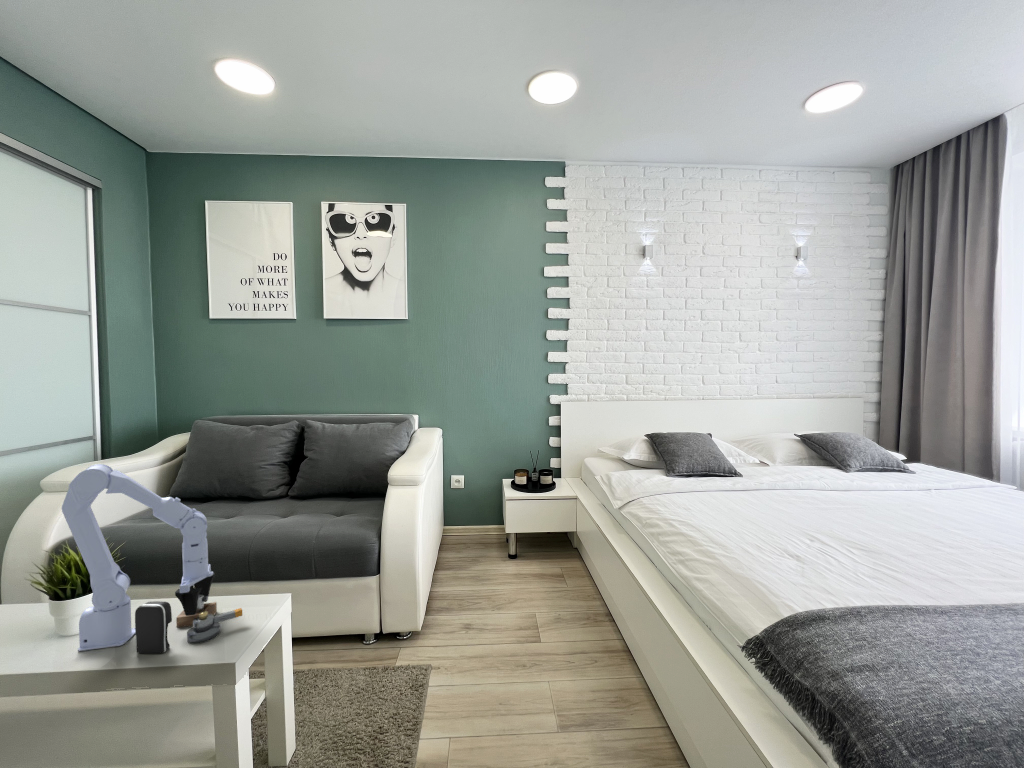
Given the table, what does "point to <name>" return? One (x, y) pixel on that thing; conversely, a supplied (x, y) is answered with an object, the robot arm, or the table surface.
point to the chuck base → (203, 632)
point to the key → (201, 603)
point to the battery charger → (152, 627)
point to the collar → (214, 620)
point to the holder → (188, 620)
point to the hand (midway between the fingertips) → (196, 608)
